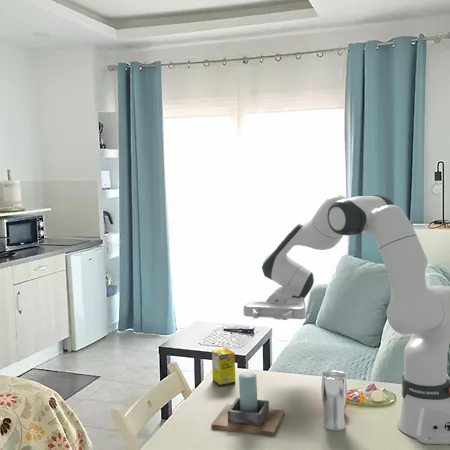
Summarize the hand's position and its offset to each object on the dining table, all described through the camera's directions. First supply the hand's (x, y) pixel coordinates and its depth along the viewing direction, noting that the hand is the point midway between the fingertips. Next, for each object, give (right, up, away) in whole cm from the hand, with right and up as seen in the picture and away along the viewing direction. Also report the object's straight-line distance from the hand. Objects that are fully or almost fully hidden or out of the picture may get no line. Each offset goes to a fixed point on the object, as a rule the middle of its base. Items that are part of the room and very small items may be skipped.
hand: (269, 316), depth 182 cm
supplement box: (-14, -25, +15) cm, 32 cm away
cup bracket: (-7, -28, -14) cm, 32 cm away
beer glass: (+17, -28, -19) cm, 38 cm away
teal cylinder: (-7, -26, -15) cm, 31 cm away
